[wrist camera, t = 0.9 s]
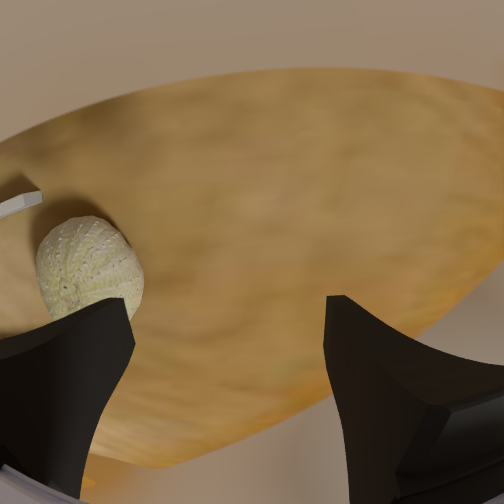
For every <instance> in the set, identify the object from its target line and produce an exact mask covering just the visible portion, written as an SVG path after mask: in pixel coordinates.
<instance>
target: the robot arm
mask: <svg viewBox="0 0 504 504" xmlns="http://www.w3.org/2000/svg"><path fill="white" fill-rule="evenodd" d="M134 347H135V340H134V336H133V333H132V329H131V325H130V321H129V318H128V314H127V310H126V305H125V301H124V298H115V297H110V298H106V299H103V300H100V301H98V302H95V303H93V304H91V305H88V306H86V307H84V308H82V309H80V310H78V311H76V312H73V313H71V314H69V315H67V316H65V317H63V318H60V319H58V320H56V321H54V322H51V323H49V324H47V325H45V326H42V327H40V328H37V329H34V330H32V331H29V332H26V333H23V334H20V335H16V336H13V337H9V338H5V339H0V504H88V503H85V502H83V501H80V500H79V498H80V491H81V484H82V477H83V473H84V468H85V463H86V459H87V455H88V452H89V448H90V445H91V442H92V438H93V435H94V432H95V430H96V427H97V424H98V421H99V419H100V416H101V414H102V412H103V410H104V408H105V406H106V404H107V402H108V400H109V399H110V397H111V395H112V393H113V391H114V389H115V388H116V386H117V384H118V382H119V380H120V379H121V377H122V375H123V373H124V371H125V369H126V368H127V366H128V363H129V361H130V358H131V356H132V353H133V350H134ZM323 348H324V355H325V362H326V369H327V373H328V376H329V380H330V384H331V387H332V391H333V394H334V398H335V401H336V405H337V409H338V412H339V416H340V419H341V424H342V429H343V435H344V443H345V451H346V461H347V470H348V483H349V500H350V504H504V366H502V365H494V364H487V363H482V362H477V361H473V360H469V359H464V358H461V357H457V356H454V355H451V354H448V353H445V352H442V351H440V350H437V349H434V348H431V347H429V346H427V345H424V344H422V343H420V342H418V341H416V340H414V339H412V338H410V337H408V336H406V335H404V334H402V333H400V332H399V331H397V330H395V329H394V328H392V327H390V326H389V325H387V324H385V323H384V322H382V321H381V320H379V319H378V318H376V317H375V316H374V315H372V314H371V313H369V312H368V311H366V310H365V309H364V308H362V307H361V306H360V305H358V304H357V303H356V302H354V301H353V300H351V299H350V298H348V297H347V296H345V295H336V296H327V300H326V316H325V330H324V342H323Z"/></svg>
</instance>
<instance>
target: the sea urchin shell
mask: <svg viewBox="0 0 504 504" xmlns="http://www.w3.org/2000/svg"><path fill="white" fill-rule="evenodd" d="M36 273H37V275H36V277H37V280H38V284H39V287H40V292H41V297H42V298H43V300H44V302H45V304H46V307H47V309H48V312H49V313H50V314H51V316H52V318H53V319H54V320H55V321H56V320H58V319H60V318H63V317H65V316H67V315H69V314H71V313H73V312H76V311H78V310H80V309H82V308H84V307H86V306H88V305H91V304H93V303H95V302H98V301H100V300H103V299H106V298H110V297H115V298H124V301H125V305H126V310H127V314H128V318H129V321H130V320H131V318H132V316H133V314H134V313H135V311H136V310H137V308H138V306H140V302H141V299H142V292H143V288H144V277H143V270H142V267H141V265H140V263H139V261H138V259H137V257H136V255H135V251H134V250H133V249H132V248H131V247H130V246H129V245H128V244H127V242H126V241H125V239H124V237H123V236H122V234H121V233H120V232H119V231H118V230H117V229H115V228H114V227H112V226H111V225H110V224H109V223H108V222H107V221H106V220H104V219H101V218H98V217H95V216H93V215H92V216H84V217H76V218H75V217H74V218H70V219H69V220H67V221H66V222H63V223H62V224H60V225H58V226H57V227H55V228H52V231H50V232H49V234H48V235H47V236H46V237H45V238H44V240H43V241H42V242H41V244H40V245H39V248H38V252H37V255H36Z"/></svg>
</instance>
